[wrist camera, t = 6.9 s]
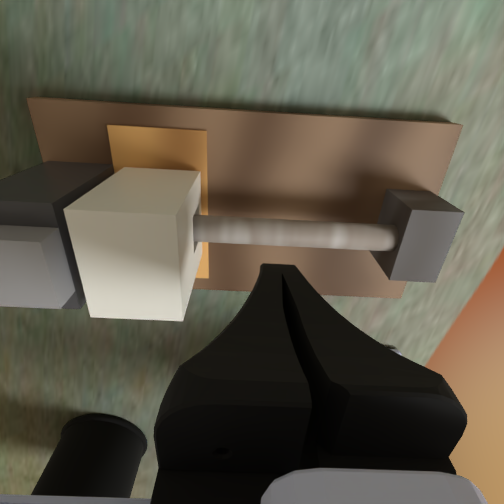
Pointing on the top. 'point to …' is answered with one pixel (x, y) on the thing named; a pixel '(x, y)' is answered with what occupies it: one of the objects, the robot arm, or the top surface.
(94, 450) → the aerosol can
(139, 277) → the sleeve
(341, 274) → the rail board
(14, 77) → the top surface
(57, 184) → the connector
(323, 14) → the top surface
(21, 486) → the top surface
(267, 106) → the top surface
